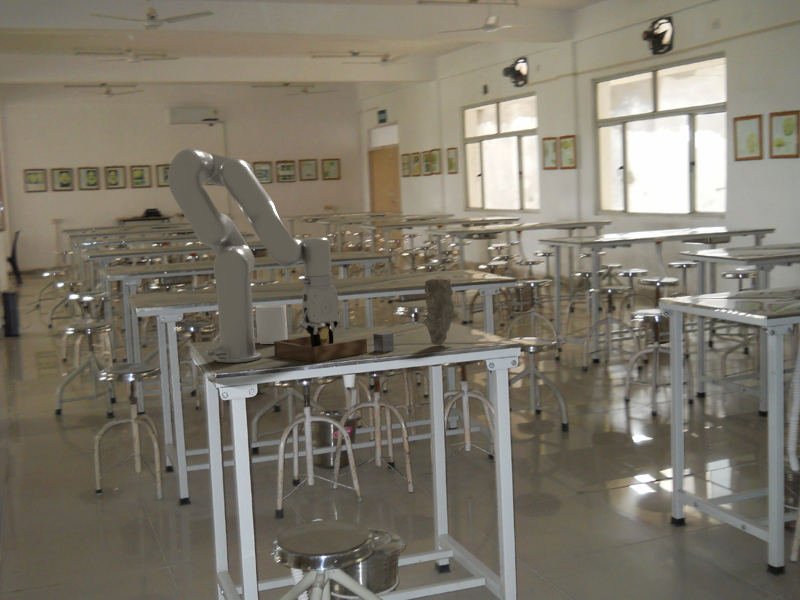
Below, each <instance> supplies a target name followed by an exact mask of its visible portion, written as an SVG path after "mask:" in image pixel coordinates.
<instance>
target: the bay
mask: <svg viewBox="0 0 800 600" xmlns="http://www.w3.org/2000/svg"><path fill="white" fill-rule="evenodd" d="M367 344H368V339H367V338H366V337H364V338H358V339H353V340H346V341H340V342H333V344H327V345H321V346H316V347H312V346H311V337H310V335H306V336H305V335H304V336H300V337H295V338H294V337H293V338H287V339H286V340H280V341H274V345H273V347H274V348H273V349H274V356H277V357H281V358H282V357H283V358H286V359H287V358H288V359H291V360H292V359H293V360H297V361H302V362H307V363H317V362H318V363H319V362H321V361H322V362H324V361H328V360H332V359H333V360H334V359H340V358H344V357H350V356H356V355H361V354H366V353H368V345H367Z"/></svg>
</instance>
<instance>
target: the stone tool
mask: <svg viewBox="0 0 800 600" xmlns="http://www.w3.org/2000/svg"><path fill="white" fill-rule="evenodd" d="M424 284H425V285H424V293H425V304H426V309H427V310H426V311H427V315H426V318H425V319H424V320H423V321H422V324H423V325H425V326H426V328H427V331H428V334H429V336H430V337H429V338H430V343H431V344H432V345H435V346H441V345H443V344H445V342H446V340H447V338H448V335H447V333H448V332H449V331H450V328H451V324H452V323H453V322H456V321H457V320H458V318H459V316H458V315H457V313H455V306H454V303H453V300H452V297H453V295H454V292H453V289H452V284H451V279H450V278H448V277H447V278H446V277H444V276H436V277H433V278H430V279H428V280H426V281H425V282H424Z"/></svg>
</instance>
